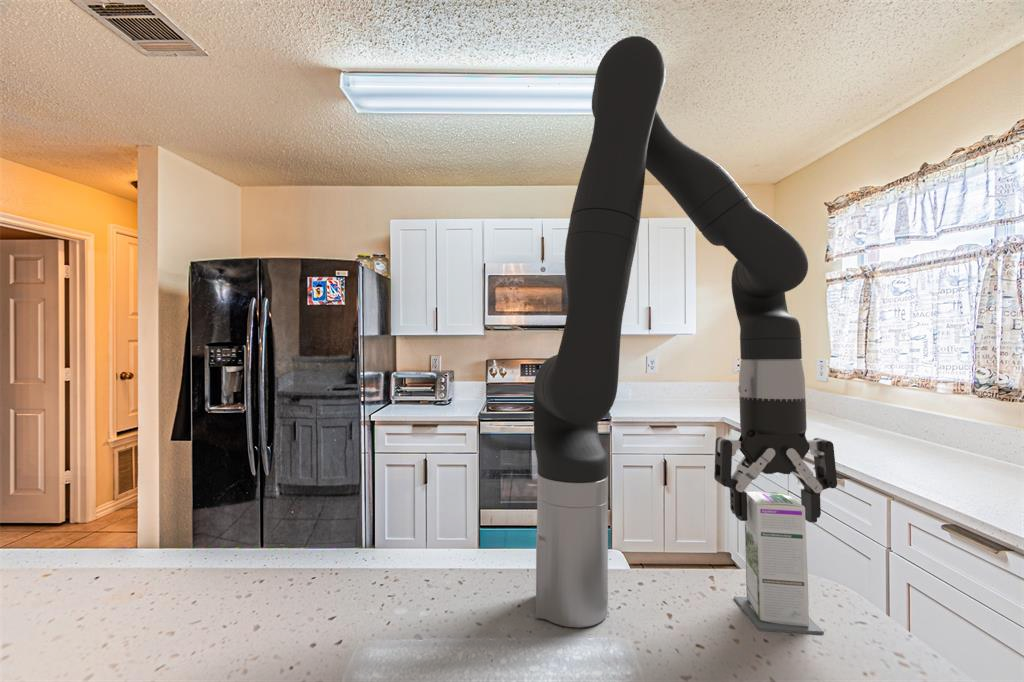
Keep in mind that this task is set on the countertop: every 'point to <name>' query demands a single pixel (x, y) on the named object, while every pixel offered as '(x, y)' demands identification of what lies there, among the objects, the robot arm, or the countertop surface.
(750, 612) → the tile
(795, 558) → the syrup box
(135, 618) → the countertop surface
